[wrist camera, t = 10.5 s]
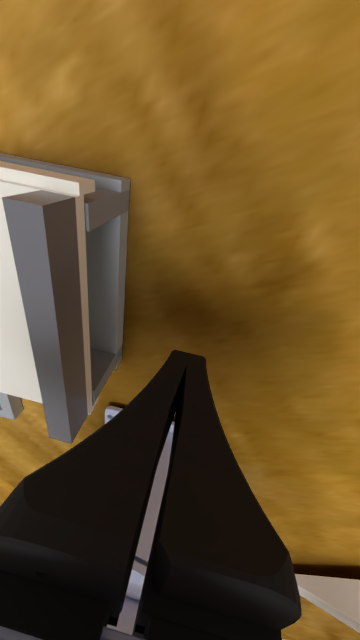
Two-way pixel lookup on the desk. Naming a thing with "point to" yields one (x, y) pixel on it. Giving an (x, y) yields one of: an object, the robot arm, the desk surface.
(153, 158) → the desk surface
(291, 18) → the desk surface
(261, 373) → the desk surface
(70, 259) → the cover
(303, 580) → the desk lamp
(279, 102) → the desk surface
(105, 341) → the gray square frame
